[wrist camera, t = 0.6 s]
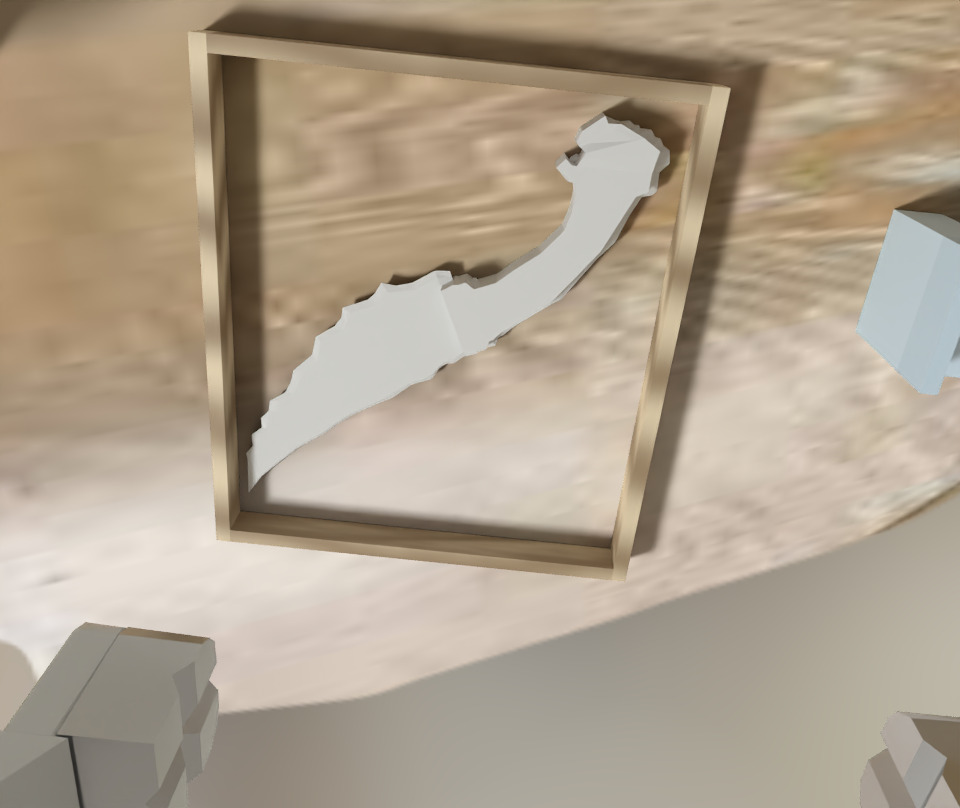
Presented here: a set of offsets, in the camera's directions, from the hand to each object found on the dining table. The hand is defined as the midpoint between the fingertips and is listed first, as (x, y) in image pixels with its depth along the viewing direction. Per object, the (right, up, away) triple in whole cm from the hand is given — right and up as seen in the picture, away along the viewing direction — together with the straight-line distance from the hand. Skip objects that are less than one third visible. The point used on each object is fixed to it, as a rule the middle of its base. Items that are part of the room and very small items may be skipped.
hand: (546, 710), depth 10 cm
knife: (-4, +9, +45) cm, 46 cm away
